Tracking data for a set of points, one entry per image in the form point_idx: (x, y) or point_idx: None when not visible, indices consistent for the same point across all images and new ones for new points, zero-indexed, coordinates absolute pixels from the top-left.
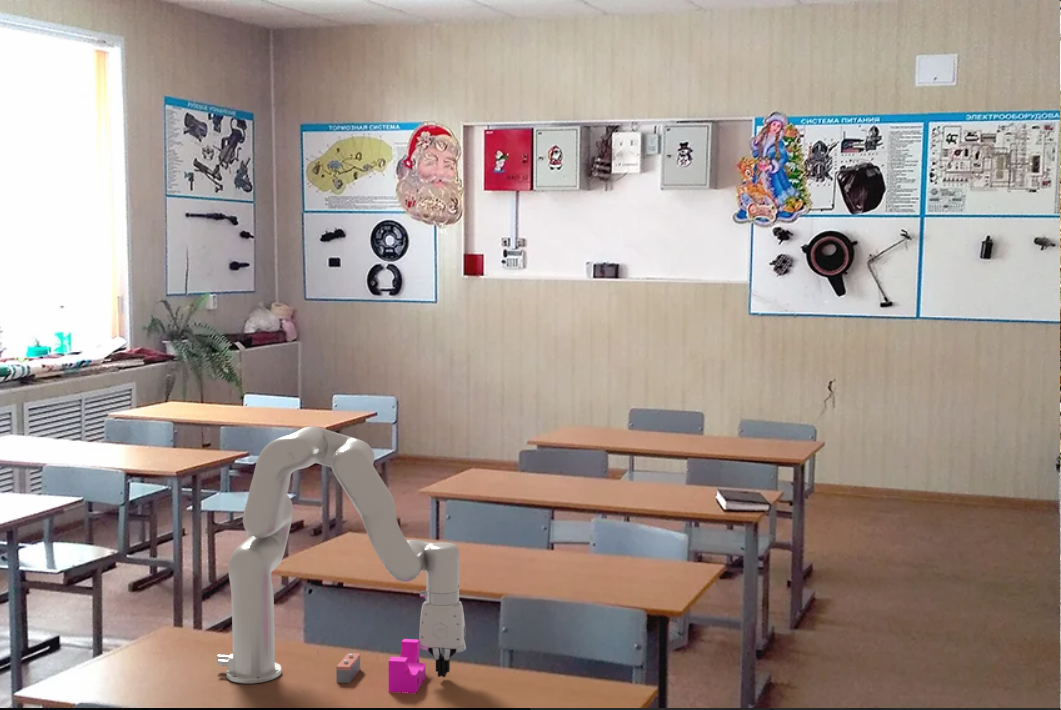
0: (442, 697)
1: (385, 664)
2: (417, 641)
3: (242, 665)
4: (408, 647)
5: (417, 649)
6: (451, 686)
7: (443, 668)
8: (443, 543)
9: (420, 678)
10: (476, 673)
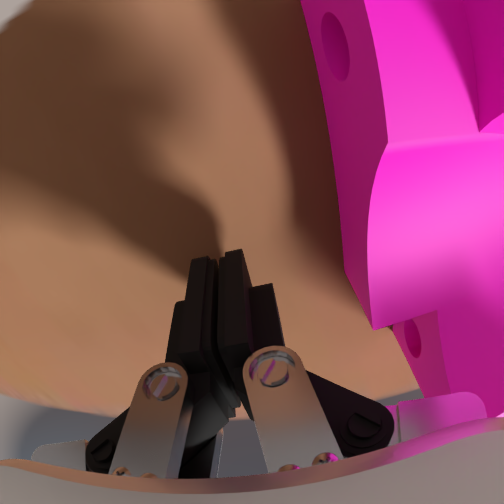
0: (90, 15)
1: None
2: None
3: None
4: (495, 383)
5: None
6: (127, 203)
7: (193, 296)
8: None
9: (347, 145)
10: (131, 373)
